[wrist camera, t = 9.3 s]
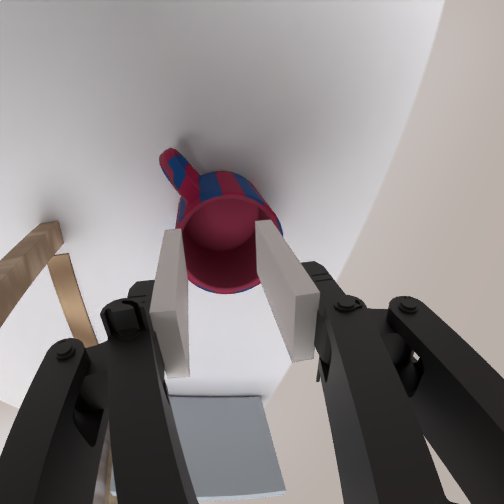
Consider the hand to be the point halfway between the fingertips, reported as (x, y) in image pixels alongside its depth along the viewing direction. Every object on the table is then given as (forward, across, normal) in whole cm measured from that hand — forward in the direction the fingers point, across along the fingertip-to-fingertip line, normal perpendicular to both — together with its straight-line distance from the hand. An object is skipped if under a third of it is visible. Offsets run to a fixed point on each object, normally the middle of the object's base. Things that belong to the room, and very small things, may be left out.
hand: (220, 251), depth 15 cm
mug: (+11, 0, 0) cm, 11 cm away
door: (+10, -5, -23) cm, 26 cm away
